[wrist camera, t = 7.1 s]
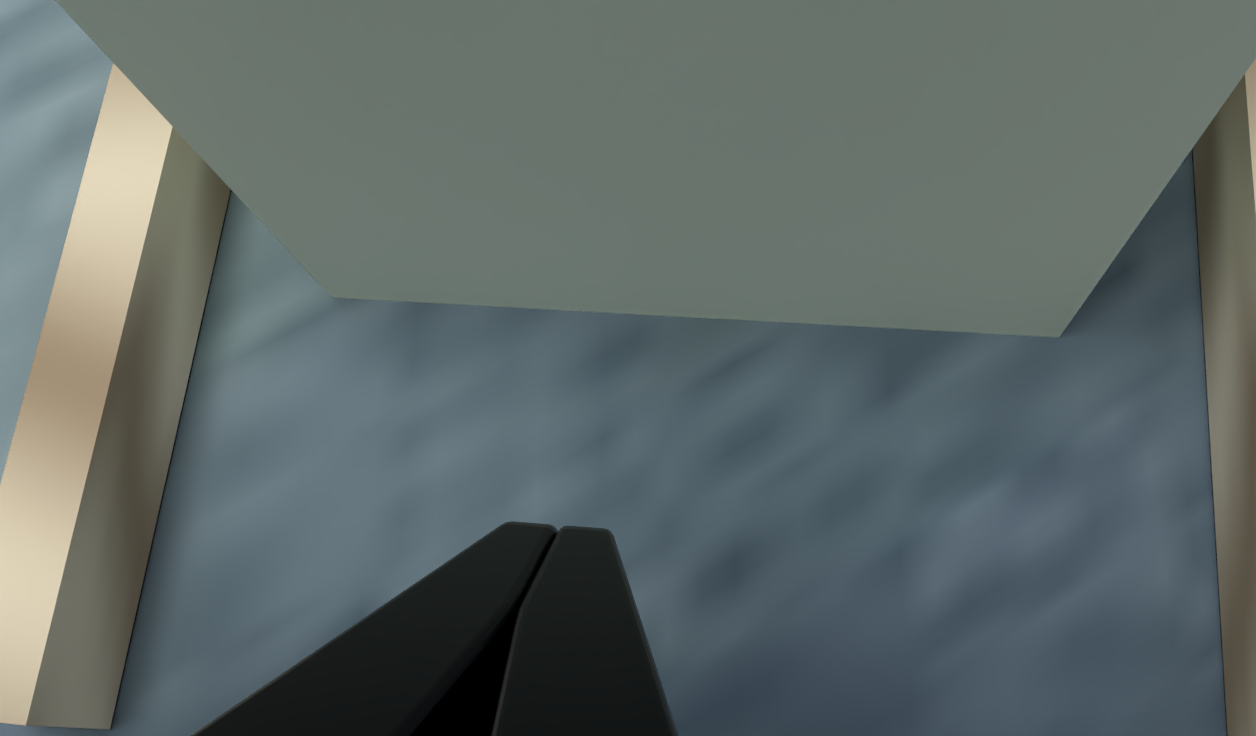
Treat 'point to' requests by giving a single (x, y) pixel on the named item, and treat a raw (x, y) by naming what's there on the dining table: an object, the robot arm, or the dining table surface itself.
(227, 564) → the dining table surface
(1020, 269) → the sage block
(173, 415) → the guide chute
